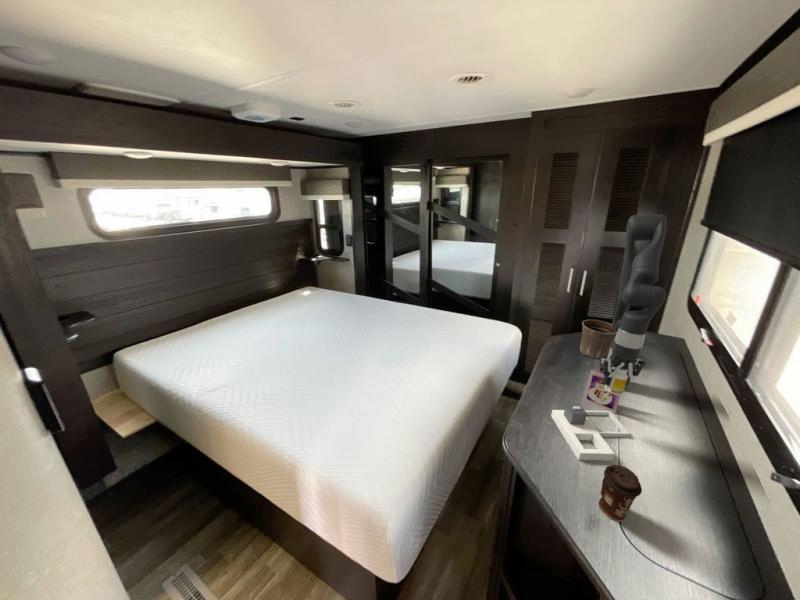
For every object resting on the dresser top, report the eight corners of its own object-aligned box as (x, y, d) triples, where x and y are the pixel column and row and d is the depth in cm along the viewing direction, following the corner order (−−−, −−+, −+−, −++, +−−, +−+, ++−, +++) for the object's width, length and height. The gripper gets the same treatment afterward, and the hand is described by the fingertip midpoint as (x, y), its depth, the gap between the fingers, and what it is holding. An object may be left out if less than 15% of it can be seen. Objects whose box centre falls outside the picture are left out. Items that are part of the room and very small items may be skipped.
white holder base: (579, 416, 117) (584, 398, 114) (612, 460, 99) (619, 440, 96) (551, 416, 117) (555, 398, 114) (578, 459, 99) (584, 439, 96)
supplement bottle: (601, 388, 109) (608, 365, 105) (610, 384, 111) (617, 361, 107) (616, 397, 104) (624, 373, 101) (625, 392, 106) (633, 369, 103)
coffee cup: (586, 495, 88) (597, 462, 83) (613, 493, 88) (625, 460, 84) (608, 526, 80) (621, 492, 75) (637, 524, 80) (652, 489, 76)
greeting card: (581, 401, 126) (590, 370, 120) (586, 392, 131) (594, 363, 125) (614, 414, 118) (624, 382, 113) (617, 405, 124) (628, 374, 118)
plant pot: (618, 361, 154) (626, 333, 148) (586, 361, 154) (593, 333, 148) (598, 345, 169) (606, 319, 163) (569, 345, 169) (576, 319, 163)
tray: (608, 413, 119) (609, 410, 118) (628, 437, 108) (630, 433, 107) (578, 413, 119) (579, 410, 118) (596, 436, 108) (597, 433, 108)
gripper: (642, 337, 104) (628, 378, 110) (599, 336, 104) (588, 377, 110) (659, 348, 97) (643, 391, 103) (613, 347, 97) (600, 391, 103)
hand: (615, 384), depth 106 cm, fingers closed on supplement bottle, 5 cm apart
